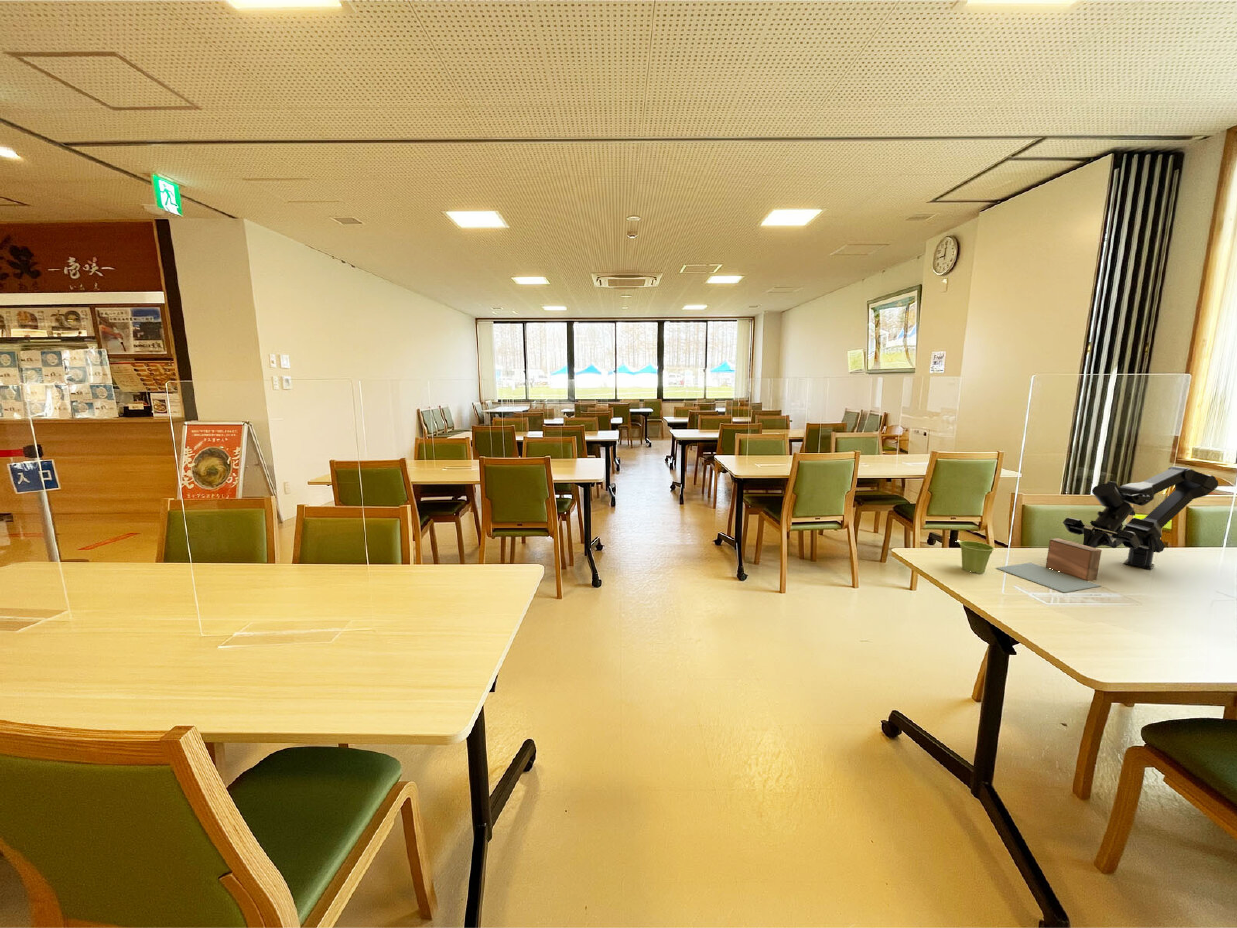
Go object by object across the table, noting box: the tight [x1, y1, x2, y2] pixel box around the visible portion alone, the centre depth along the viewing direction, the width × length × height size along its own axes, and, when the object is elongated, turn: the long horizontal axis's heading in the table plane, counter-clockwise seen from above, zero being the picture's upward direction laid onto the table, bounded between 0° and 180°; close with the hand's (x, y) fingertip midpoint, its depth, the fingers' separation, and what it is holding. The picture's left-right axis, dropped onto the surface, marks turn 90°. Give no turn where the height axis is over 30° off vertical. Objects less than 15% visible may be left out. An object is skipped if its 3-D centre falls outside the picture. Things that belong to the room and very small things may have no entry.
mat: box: [996, 562, 1102, 594], centre depth 158 cm, size 16×20×1 cm
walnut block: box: [1045, 537, 1102, 582], centre depth 160 cm, size 4×12×10 cm, turn 16°
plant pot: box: [958, 540, 995, 574], centre depth 163 cm, size 9×9×9 cm
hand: (1084, 551), depth 161 cm, fingers closed
